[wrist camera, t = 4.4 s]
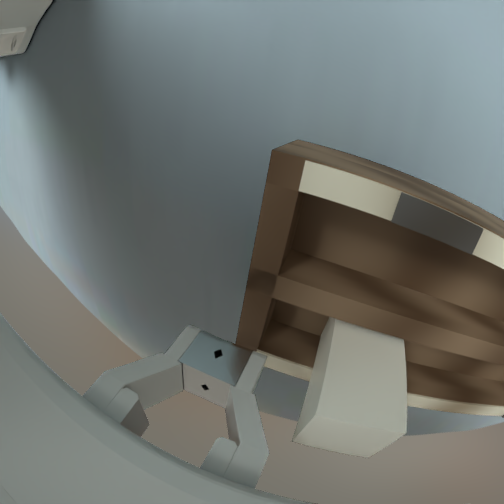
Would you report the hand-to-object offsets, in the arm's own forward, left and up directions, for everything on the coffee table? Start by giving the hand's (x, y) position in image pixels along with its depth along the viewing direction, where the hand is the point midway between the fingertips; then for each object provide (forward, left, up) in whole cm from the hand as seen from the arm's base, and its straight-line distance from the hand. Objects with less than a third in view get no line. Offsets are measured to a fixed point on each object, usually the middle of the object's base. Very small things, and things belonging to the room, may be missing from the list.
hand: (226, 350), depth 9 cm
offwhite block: (+5, 0, -3) cm, 6 cm away
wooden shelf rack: (+12, +2, -6) cm, 13 cm away
